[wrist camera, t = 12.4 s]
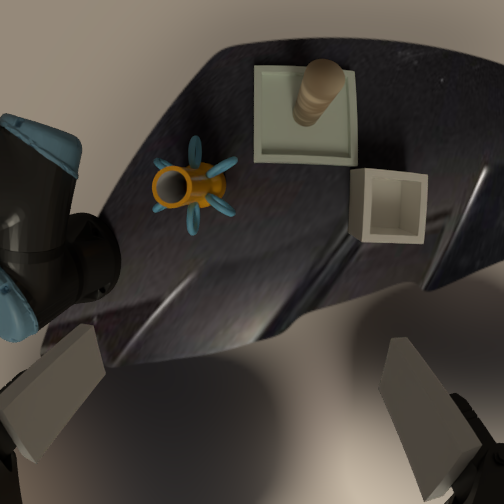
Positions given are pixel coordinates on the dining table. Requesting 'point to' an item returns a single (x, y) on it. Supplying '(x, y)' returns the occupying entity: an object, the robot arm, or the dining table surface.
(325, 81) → the dowel
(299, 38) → the dining table surface
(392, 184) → the hollow square block
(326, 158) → the tray
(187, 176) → the tube with teal loops
